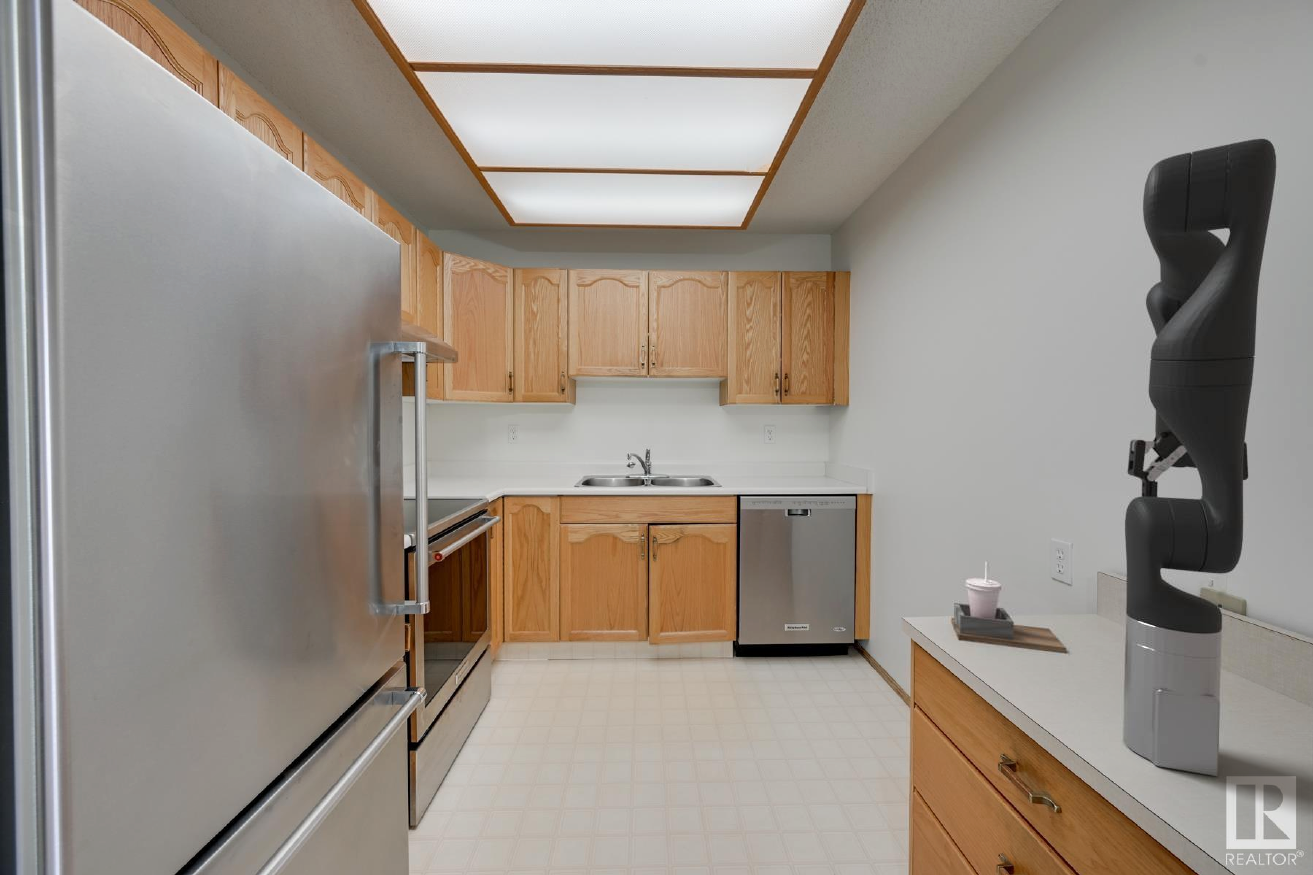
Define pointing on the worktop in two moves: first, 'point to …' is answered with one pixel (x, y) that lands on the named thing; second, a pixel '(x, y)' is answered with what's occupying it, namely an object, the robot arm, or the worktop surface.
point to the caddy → (1002, 631)
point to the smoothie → (983, 596)
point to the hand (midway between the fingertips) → (1184, 505)
